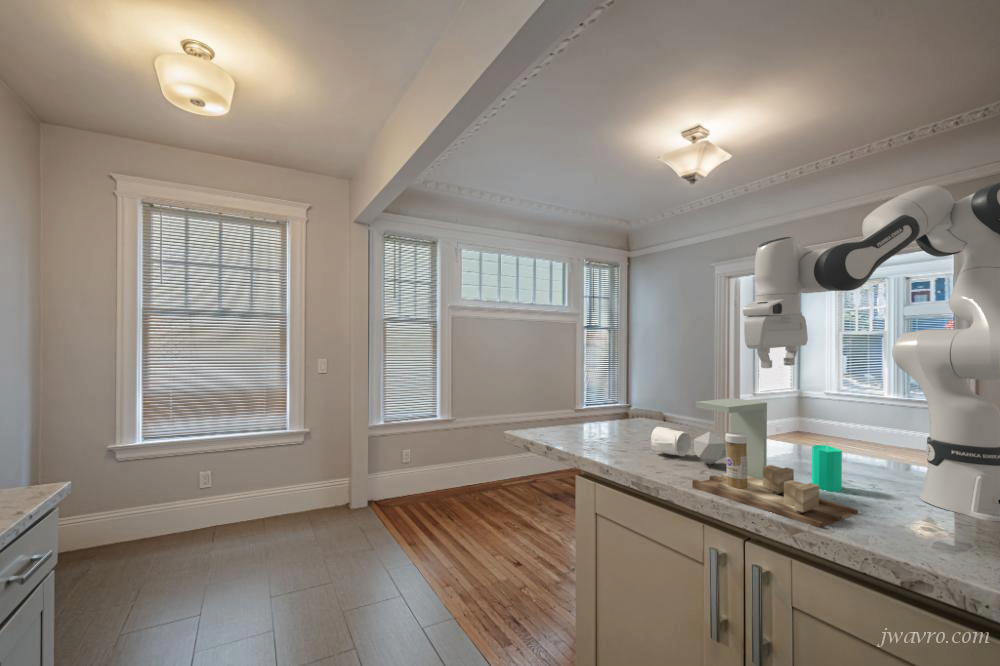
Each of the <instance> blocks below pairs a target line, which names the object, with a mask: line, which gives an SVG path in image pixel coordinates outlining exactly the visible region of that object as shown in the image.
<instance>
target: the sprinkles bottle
mask: <svg viewBox="0 0 1000 666" xmlns="http://www.w3.org/2000/svg"><path fill="white" fill-rule="evenodd" d="M724 436H725V443H726V473H727V485H728V486H730V487H732V488H737V489H746V488H747V451H746V445H747V444H746V443H747V435H745V434H742V433H730V432H726V433H725V435H724Z"/></svg>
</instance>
